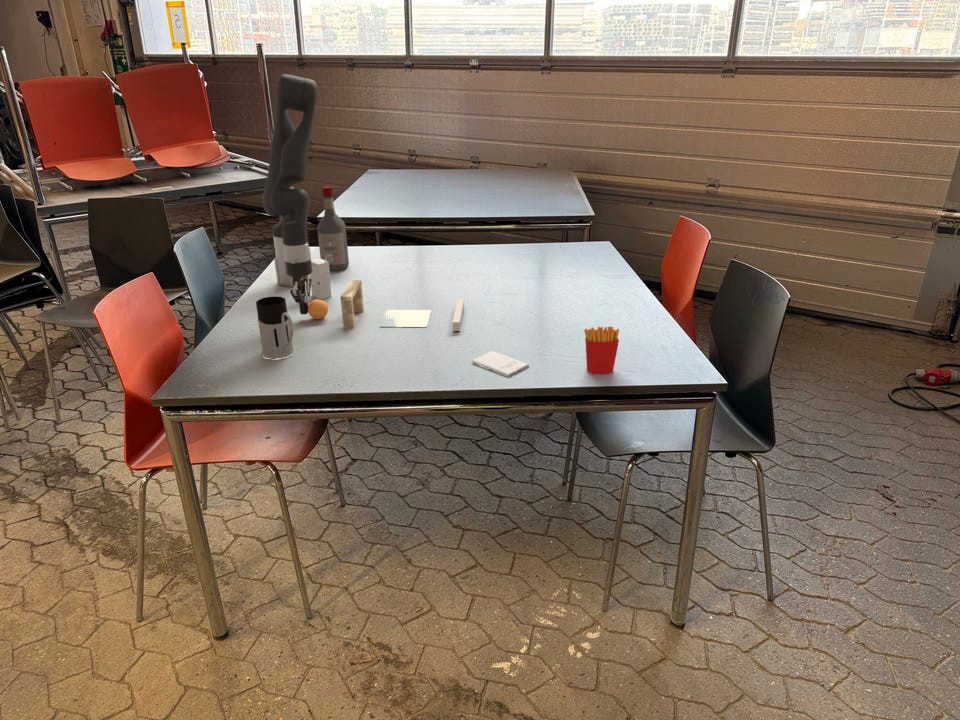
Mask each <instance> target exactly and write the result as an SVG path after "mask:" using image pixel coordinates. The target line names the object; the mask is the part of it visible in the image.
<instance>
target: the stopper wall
mask: <svg viewBox="0 0 960 720" xmlns="http://www.w3.org/2000/svg"><path fill="white" fill-rule="evenodd" d="M464 311H465V299H464V298H457V299H456V304H455V309H454V314H453V318H452V332H453V331H461V328H462V322H463V317H464ZM462 316H463V317H462ZM461 321H462V322H461ZM460 327H461V328H460Z"/></svg>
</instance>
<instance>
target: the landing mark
mask: <svg viewBox="0 0 960 720" xmlns="http://www.w3.org/2000/svg"><path fill="white" fill-rule="evenodd" d="M432 311H433V310H432V309H387V310H386V312H385V314H386V319H387V315H388V319H389V316H390V319H391V318H393V320H394V318H395V320H394V322H395V323H394V324H395V325H397V326H396V327H395V328H402V327H428V324H429V321H430V317H431V315H430V314H432ZM384 317H385V315H384V316H383V318H384ZM396 321H397V322H396ZM395 325H394V326H395Z"/></svg>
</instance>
